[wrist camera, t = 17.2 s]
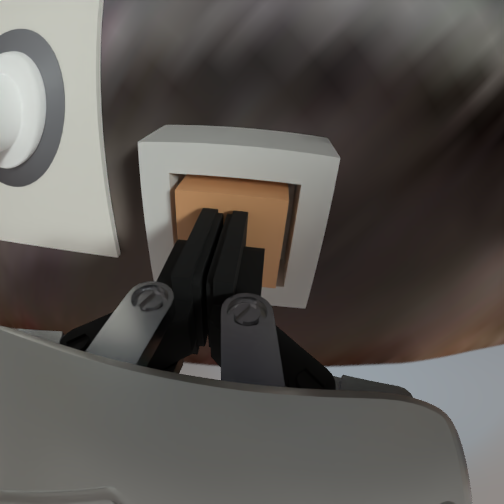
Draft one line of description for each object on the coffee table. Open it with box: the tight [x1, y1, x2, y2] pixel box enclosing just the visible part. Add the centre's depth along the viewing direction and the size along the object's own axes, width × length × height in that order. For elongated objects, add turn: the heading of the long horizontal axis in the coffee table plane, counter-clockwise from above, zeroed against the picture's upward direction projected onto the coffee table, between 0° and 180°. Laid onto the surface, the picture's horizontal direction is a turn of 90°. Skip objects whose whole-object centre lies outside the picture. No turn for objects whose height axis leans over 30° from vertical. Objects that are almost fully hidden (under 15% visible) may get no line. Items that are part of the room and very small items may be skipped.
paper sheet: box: [0, 0, 121, 258], centre depth 11 cm, size 14×19×1 cm
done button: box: [175, 174, 289, 288], centre depth 12 cm, size 4×4×2 cm
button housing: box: [138, 125, 340, 309], centre depth 13 cm, size 7×7×3 cm
